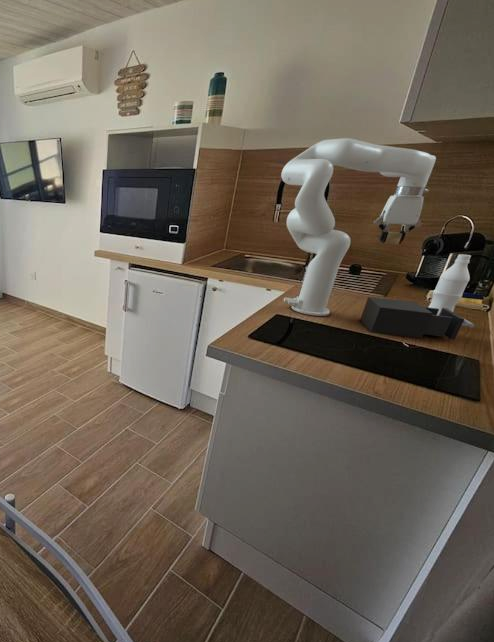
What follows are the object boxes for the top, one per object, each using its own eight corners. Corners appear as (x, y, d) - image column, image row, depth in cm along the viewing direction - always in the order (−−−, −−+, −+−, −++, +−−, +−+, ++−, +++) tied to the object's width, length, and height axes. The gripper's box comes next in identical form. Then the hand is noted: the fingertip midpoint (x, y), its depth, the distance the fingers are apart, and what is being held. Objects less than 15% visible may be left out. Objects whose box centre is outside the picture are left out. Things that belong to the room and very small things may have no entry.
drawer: (454, 329, 128) (463, 310, 125) (472, 342, 119) (483, 321, 116) (392, 322, 134) (400, 303, 132) (405, 333, 125) (414, 313, 122)
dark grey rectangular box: (406, 325, 134) (416, 302, 130) (421, 338, 124) (433, 313, 120) (359, 320, 139) (368, 297, 135) (371, 331, 129) (380, 307, 125)
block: (385, 243, 141) (389, 232, 139) (381, 241, 144) (384, 231, 143) (398, 244, 139) (402, 233, 138) (394, 242, 143) (398, 232, 141)
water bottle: (436, 318, 140) (466, 253, 130) (454, 326, 133) (486, 257, 124) (416, 318, 141) (444, 252, 131) (432, 325, 134) (463, 257, 124)
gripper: (433, 192, 135) (413, 243, 142) (376, 191, 141) (359, 239, 148) (444, 193, 128) (422, 246, 136) (384, 191, 134) (366, 242, 142)
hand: (390, 242), depth 142 cm, fingers closed on block, 4 cm apart
